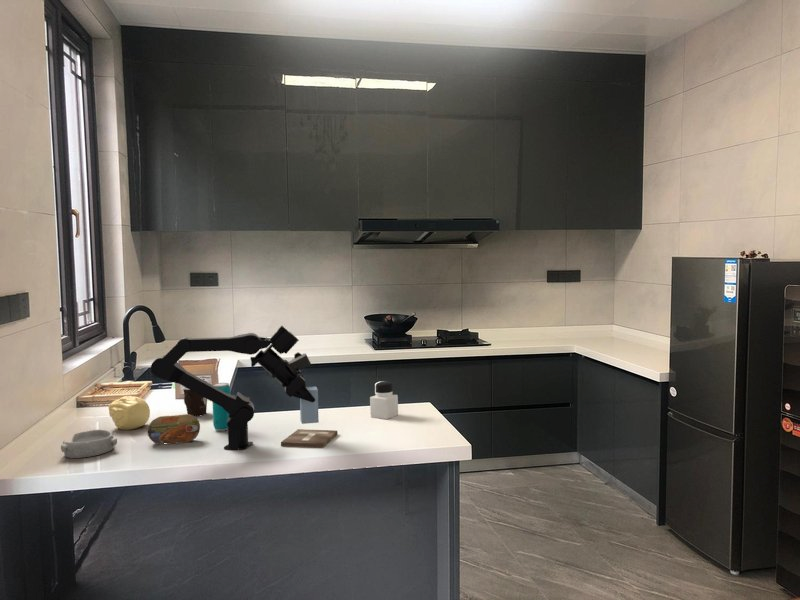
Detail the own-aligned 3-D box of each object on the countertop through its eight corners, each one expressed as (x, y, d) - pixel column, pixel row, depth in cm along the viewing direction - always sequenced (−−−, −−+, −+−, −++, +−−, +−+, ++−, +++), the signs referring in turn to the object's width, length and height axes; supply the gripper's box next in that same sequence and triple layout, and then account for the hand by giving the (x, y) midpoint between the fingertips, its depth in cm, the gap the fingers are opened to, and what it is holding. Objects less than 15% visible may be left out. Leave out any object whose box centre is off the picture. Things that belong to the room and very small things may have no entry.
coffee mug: (199, 410, 229) (198, 383, 229) (214, 413, 224) (213, 386, 224) (172, 417, 220) (170, 389, 219) (186, 420, 215) (185, 392, 214)
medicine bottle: (398, 415, 215) (397, 381, 215) (387, 419, 209) (386, 384, 209) (381, 412, 219) (380, 379, 218) (370, 417, 213) (369, 383, 212)
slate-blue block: (301, 423, 184) (300, 390, 183) (300, 419, 189) (299, 387, 188) (318, 422, 185) (317, 389, 184) (316, 418, 190) (316, 386, 189)
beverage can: (225, 426, 206) (223, 381, 205) (235, 428, 202) (233, 383, 201) (210, 430, 201) (208, 384, 200) (220, 432, 198) (218, 386, 197)
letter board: (323, 447, 179) (322, 443, 179) (281, 446, 182) (280, 441, 182) (337, 434, 193) (337, 430, 193) (298, 432, 195) (298, 429, 195)
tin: (148, 445, 186) (146, 418, 185) (150, 442, 189) (148, 415, 188) (200, 441, 189) (198, 414, 188) (201, 438, 192) (200, 412, 191)
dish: (60, 462, 172) (59, 445, 172) (65, 449, 185) (64, 432, 184) (117, 455, 178) (116, 437, 177) (118, 442, 190) (117, 426, 190)
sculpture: (104, 430, 205) (102, 398, 204) (134, 421, 215) (132, 390, 215) (127, 433, 200) (125, 400, 199) (157, 424, 210) (156, 393, 209)
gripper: (296, 349, 175) (335, 385, 179) (292, 341, 194) (328, 374, 197) (268, 378, 174) (309, 414, 177) (267, 367, 192) (303, 400, 195)
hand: (313, 399), depth 187 cm, fingers closed on slate-blue block, 5 cm apart
